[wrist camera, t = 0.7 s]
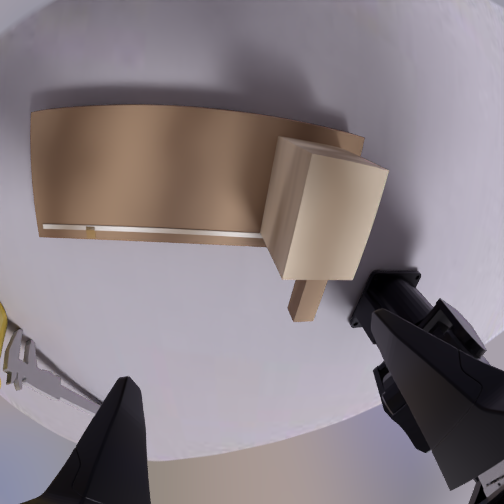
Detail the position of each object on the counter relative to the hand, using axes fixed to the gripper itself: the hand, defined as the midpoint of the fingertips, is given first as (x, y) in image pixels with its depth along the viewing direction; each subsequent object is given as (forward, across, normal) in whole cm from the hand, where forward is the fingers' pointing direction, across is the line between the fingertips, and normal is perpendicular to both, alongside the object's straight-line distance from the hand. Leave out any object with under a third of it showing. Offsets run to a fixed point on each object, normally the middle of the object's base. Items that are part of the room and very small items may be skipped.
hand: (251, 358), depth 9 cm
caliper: (+12, +21, +14) cm, 28 cm away
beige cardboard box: (+10, -4, 0) cm, 11 cm away
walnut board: (+12, +1, -4) cm, 12 cm away
